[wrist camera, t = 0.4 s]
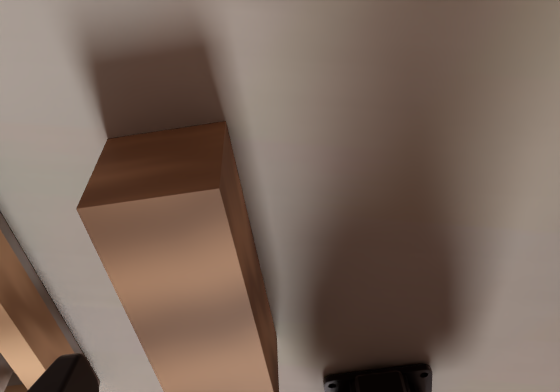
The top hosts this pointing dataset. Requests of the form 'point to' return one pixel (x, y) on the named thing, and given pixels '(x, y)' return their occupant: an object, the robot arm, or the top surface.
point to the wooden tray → (26, 320)
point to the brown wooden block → (184, 258)
